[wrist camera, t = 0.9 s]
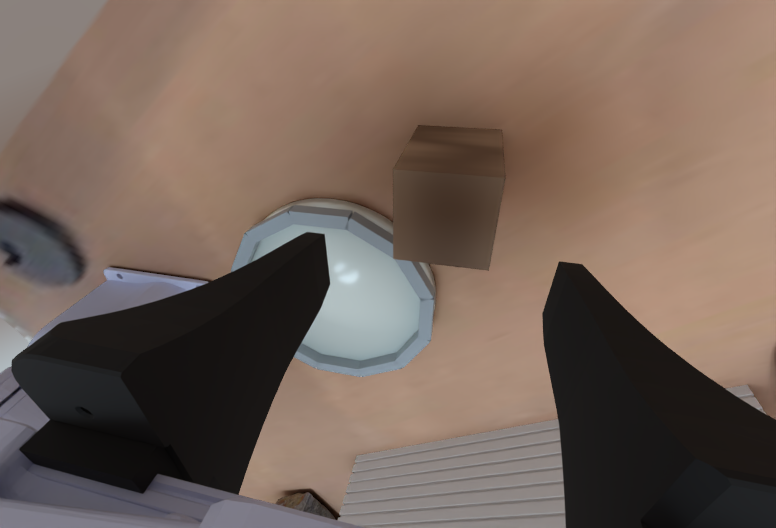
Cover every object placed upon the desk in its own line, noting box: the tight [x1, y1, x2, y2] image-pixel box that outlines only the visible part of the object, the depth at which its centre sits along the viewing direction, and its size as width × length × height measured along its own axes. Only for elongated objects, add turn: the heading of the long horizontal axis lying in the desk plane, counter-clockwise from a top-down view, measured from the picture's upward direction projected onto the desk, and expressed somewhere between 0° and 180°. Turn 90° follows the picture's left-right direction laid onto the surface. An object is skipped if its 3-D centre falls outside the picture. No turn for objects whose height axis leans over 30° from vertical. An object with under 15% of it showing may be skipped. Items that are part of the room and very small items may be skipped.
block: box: [393, 125, 505, 271], centre depth 17 cm, size 4×4×6 cm
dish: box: [231, 198, 436, 377], centre depth 25 cm, size 13×13×2 cm
